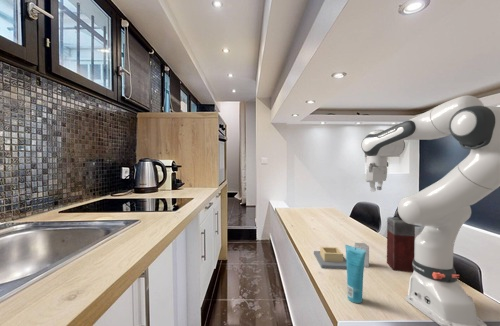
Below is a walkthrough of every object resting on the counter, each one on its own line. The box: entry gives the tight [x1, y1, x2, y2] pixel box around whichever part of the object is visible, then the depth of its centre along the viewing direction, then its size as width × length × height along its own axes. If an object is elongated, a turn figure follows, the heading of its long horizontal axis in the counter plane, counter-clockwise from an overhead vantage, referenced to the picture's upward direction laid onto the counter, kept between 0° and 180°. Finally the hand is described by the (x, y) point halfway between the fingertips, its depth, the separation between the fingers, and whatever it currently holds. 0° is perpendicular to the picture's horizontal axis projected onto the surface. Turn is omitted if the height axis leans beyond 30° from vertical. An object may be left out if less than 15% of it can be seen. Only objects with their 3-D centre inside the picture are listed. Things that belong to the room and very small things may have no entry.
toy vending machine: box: [386, 209, 416, 273], centre depth 114 cm, size 9×11×28 cm
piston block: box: [354, 242, 370, 268], centre depth 115 cm, size 5×5×10 cm
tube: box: [344, 244, 366, 304], centre depth 85 cm, size 7×5×19 cm, turn 47°
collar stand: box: [313, 246, 347, 270], centre depth 119 cm, size 18×14×6 cm
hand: (376, 190), depth 115 cm, fingers open, 8 cm apart
